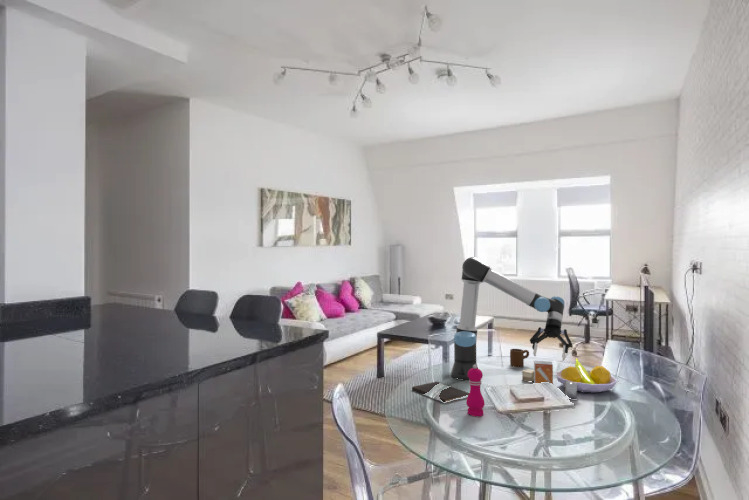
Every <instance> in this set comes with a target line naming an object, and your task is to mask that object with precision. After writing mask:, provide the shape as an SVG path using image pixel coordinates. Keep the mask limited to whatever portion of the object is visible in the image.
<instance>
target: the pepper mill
mask: <svg viewBox="0 0 749 500" xmlns="http://www.w3.org/2000/svg"><path fill="white" fill-rule="evenodd" d="M477 366H478V364H477V365H476V364H474V365H473V368H471V369H470V370H469V371H468V377H469V379H470V380H469V382H468V384H469V385H470V387H469V392H468V393H469V395H468V397H467V398H466V403H465V404H466V405H467V407H468V408H467V415H469V414H470V415H469V416H471V415H472V417H476V416H478V417H482V416H484V409H483V408H484V407H485V399H484V396H483V394H482V392H481V385H482V384H483V383H482V379H483V372H482V370H481V369H480V368H479V367H478V368H477Z"/></svg>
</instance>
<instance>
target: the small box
mask: <svg viewBox="0 0 749 500" xmlns="http://www.w3.org/2000/svg"><path fill="white" fill-rule="evenodd" d="M533 367H534V368H533V370H534V382H533V383H541V382H549V383H552V384H553V385H554V370H553V369H554V367H553V362H552V361H546V360H545V361H544V360H533Z"/></svg>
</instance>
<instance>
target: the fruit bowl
mask: <svg viewBox="0 0 749 500" xmlns="http://www.w3.org/2000/svg"><path fill="white" fill-rule="evenodd" d="M554 374H555V377H556V378H557V381H558V382H559V383H560V384H562V385H564V386H565V382H566V381H571V382H575V383H577V391H578V390H579V391H578V392H581V391H583V392H582V393H584V392H591V393H603V392H606V391H609V390H613V389H614V387H615V385H616V383H617V382H618V380H617V379H616V378H615V377H614V376H612V375H611V371H609V370H608V369H606V368H605V367H604V366H602V365H596V366H594V367H593V368H592V369H591V370H588V369H586V367H584V365H582V363H581V362H580V361H579V359H578V358H575V365H574V366H571V365H569V366H567V367H565V368H563V369H562V370H559V371H556V372H554ZM602 391H603V392H602Z"/></svg>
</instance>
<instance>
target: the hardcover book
mask: <svg viewBox="0 0 749 500" xmlns="http://www.w3.org/2000/svg"><path fill="white" fill-rule="evenodd" d="M439 383H441V382H439V381H434V382H433V381H432V382H429V383H424V384H419V385H414V386H412V387H411V390H412V391H413V392H416V393H418V394H420V395H422V394H425V393H427V392H429V391H430V390H431V389H432V388H433V387H434V386H435V385H437V384H439ZM469 393H470V392H468V391H465V390H462V389H459V388H456V387H454V386H451V387H449V388H447V389H444V390H442V391H441V393H440V395H439V397H440V399H441V400H442V401H443V402H446V401H450V400H453V399H456V398H461V397H463V396H466V395H469Z"/></svg>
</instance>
